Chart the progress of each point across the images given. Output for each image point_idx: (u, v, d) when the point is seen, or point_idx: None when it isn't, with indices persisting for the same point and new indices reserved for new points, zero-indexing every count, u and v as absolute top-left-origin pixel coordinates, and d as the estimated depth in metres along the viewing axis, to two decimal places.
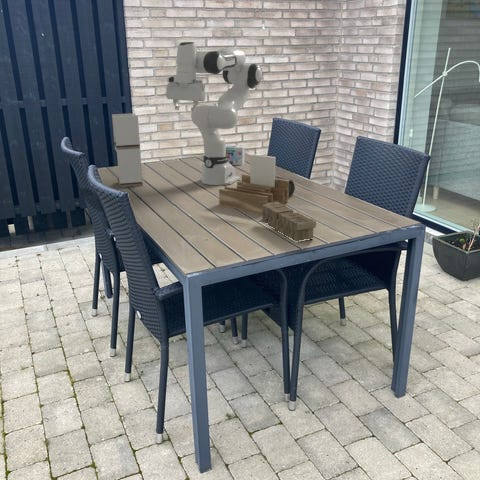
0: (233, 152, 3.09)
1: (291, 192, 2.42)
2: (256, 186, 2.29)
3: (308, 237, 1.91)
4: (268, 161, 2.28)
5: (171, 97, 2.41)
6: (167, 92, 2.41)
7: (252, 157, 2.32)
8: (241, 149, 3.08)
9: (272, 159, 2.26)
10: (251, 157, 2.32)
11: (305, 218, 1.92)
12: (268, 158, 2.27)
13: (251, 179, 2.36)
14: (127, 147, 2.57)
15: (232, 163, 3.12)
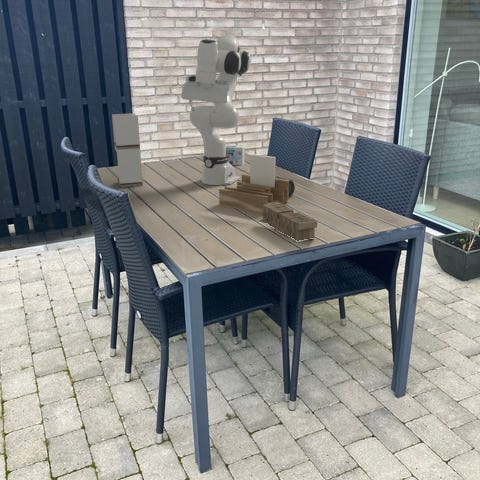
0: (233, 152, 3.09)
1: (291, 192, 2.42)
2: (256, 186, 2.29)
3: (309, 237, 1.91)
4: (268, 161, 2.28)
5: (188, 97, 2.25)
6: (183, 92, 2.24)
7: (252, 157, 2.32)
8: (241, 149, 3.08)
9: (272, 159, 2.26)
10: (251, 157, 2.32)
11: (306, 218, 1.92)
12: (268, 158, 2.27)
13: (251, 179, 2.36)
14: (127, 147, 2.57)
15: (232, 163, 3.12)
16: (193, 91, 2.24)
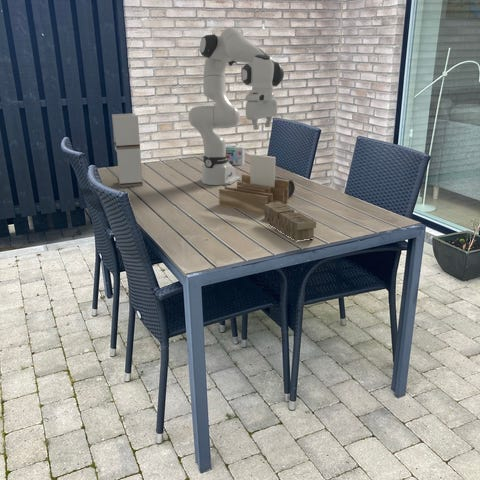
0: (233, 152, 3.09)
1: (291, 192, 2.42)
2: (256, 186, 2.29)
3: (308, 237, 1.91)
4: (268, 161, 2.28)
5: (257, 117, 2.17)
6: (254, 112, 2.14)
7: (252, 157, 2.32)
8: (241, 149, 3.08)
9: (272, 159, 2.26)
10: (251, 157, 2.32)
11: (306, 218, 1.92)
12: (268, 158, 2.27)
13: (251, 179, 2.36)
14: (127, 147, 2.57)
15: (232, 163, 3.12)
16: (259, 110, 2.18)
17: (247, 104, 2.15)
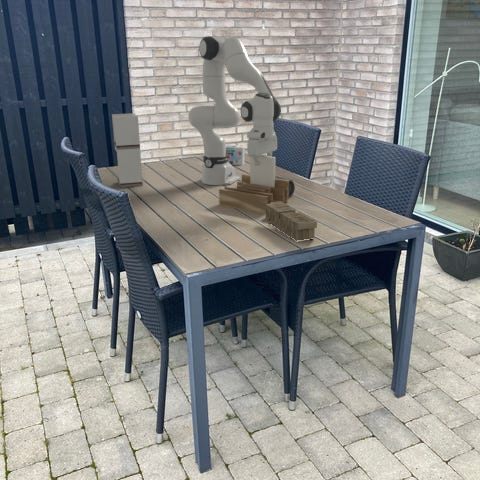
0: (233, 152, 3.09)
1: (291, 192, 2.42)
2: (256, 186, 2.29)
3: (309, 237, 1.91)
4: (268, 161, 2.28)
5: (258, 154, 2.23)
6: (256, 150, 2.20)
7: (252, 157, 2.32)
8: (241, 149, 3.08)
9: (272, 159, 2.26)
10: (251, 157, 2.32)
11: (306, 218, 1.92)
12: (268, 158, 2.27)
13: (251, 179, 2.36)
14: (127, 147, 2.57)
15: (232, 163, 3.12)
16: (260, 147, 2.23)
17: (249, 142, 2.20)
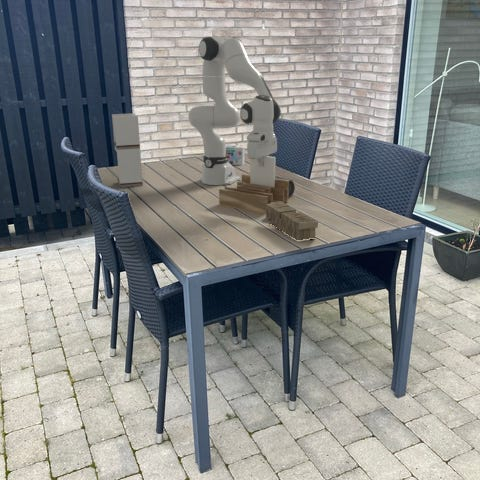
0: (233, 152, 3.09)
1: (291, 192, 2.42)
2: (256, 186, 2.29)
3: (310, 237, 1.91)
4: (268, 161, 2.28)
5: (258, 156, 2.23)
6: (256, 152, 2.20)
7: None
8: (241, 149, 3.08)
9: (272, 159, 2.27)
10: None
11: (307, 218, 1.92)
12: (268, 158, 2.27)
13: (251, 179, 2.36)
14: (127, 147, 2.57)
15: (232, 163, 3.12)
16: (260, 149, 2.23)
17: (248, 144, 2.21)
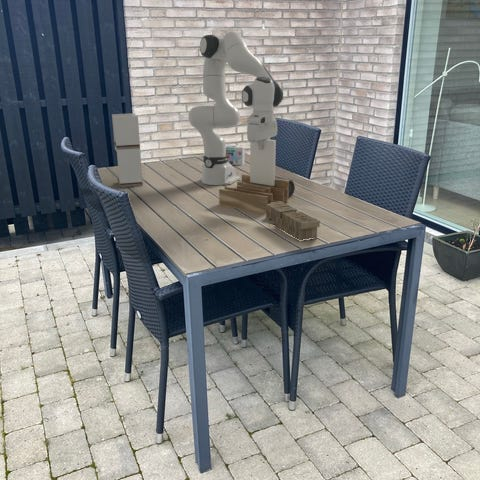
0: (233, 152, 3.09)
1: (291, 192, 2.42)
2: (256, 186, 2.29)
3: (312, 236, 1.92)
4: (268, 144, 2.25)
5: (258, 139, 2.20)
6: (256, 135, 2.18)
7: None
8: (241, 149, 3.08)
9: (272, 142, 2.24)
10: None
11: (309, 217, 1.93)
12: (268, 141, 2.25)
13: (251, 163, 2.33)
14: (127, 147, 2.57)
15: (232, 163, 3.12)
16: (260, 132, 2.21)
17: (248, 127, 2.18)
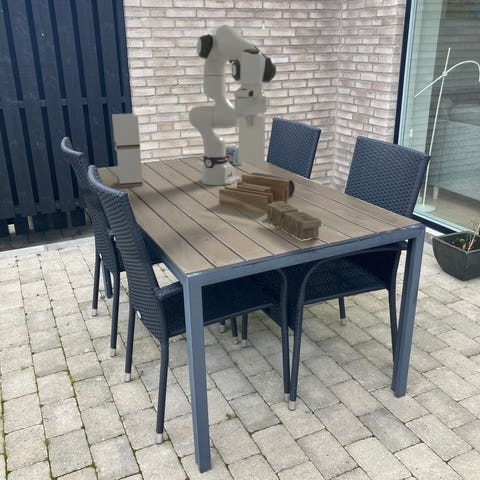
0: (233, 152, 3.09)
1: (291, 192, 2.42)
2: (256, 186, 2.29)
3: (313, 236, 1.92)
4: (257, 120, 2.13)
5: (246, 114, 2.08)
6: (244, 109, 2.06)
7: (240, 117, 2.17)
8: None
9: (261, 118, 2.12)
10: (239, 117, 2.17)
11: (310, 217, 1.93)
12: (257, 117, 2.13)
13: (239, 141, 2.21)
14: (127, 147, 2.57)
15: (232, 163, 3.12)
16: (248, 106, 2.09)
17: (236, 100, 2.06)
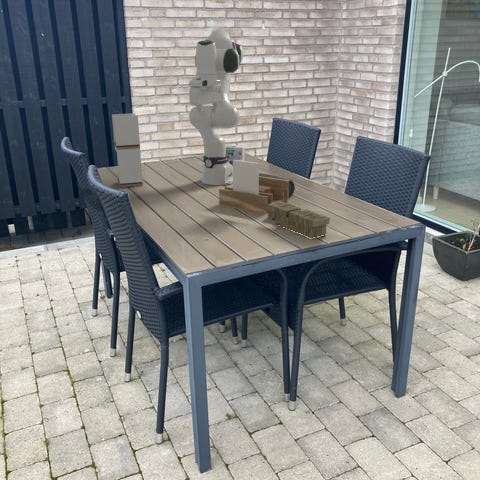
0: (233, 152, 3.09)
1: (291, 192, 2.42)
2: None
3: (322, 233, 1.94)
4: (251, 166, 2.17)
5: (201, 103, 2.18)
6: (198, 98, 2.16)
7: (234, 163, 2.21)
8: (241, 149, 3.08)
9: (255, 165, 2.15)
10: (234, 163, 2.21)
11: (317, 215, 1.96)
12: (251, 164, 2.16)
13: (234, 186, 2.25)
14: (127, 147, 2.57)
15: (232, 163, 3.12)
16: (203, 95, 2.19)
17: (190, 90, 2.16)
